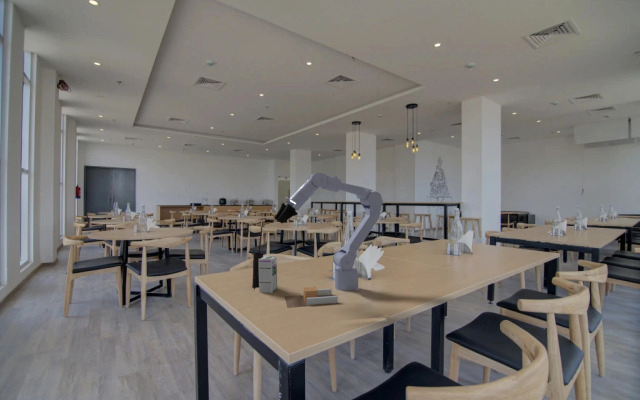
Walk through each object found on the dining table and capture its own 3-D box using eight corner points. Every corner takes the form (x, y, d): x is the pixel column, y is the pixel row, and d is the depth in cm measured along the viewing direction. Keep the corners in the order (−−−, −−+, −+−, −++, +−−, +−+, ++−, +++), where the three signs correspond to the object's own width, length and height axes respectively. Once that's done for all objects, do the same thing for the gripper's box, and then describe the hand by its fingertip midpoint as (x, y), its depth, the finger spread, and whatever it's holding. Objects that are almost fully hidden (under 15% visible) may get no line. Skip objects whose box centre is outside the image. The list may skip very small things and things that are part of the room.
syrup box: (272, 295, 117) (272, 259, 117) (258, 294, 119) (258, 258, 119) (277, 291, 123) (277, 256, 123) (264, 290, 124) (263, 255, 124)
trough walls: (331, 294, 116) (331, 288, 116) (337, 302, 106) (337, 296, 106) (303, 296, 114) (303, 290, 114) (307, 305, 104) (307, 298, 104)
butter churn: (243, 291, 124) (242, 223, 124) (246, 284, 133) (246, 222, 133) (265, 290, 124) (265, 223, 124) (267, 283, 134) (267, 221, 134)
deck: (330, 295, 117) (330, 293, 117) (338, 306, 105) (338, 303, 105) (284, 299, 113) (284, 296, 113) (287, 310, 101) (287, 307, 101)
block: (315, 297, 112) (315, 286, 112) (317, 301, 107) (317, 290, 107) (303, 298, 111) (303, 287, 111) (305, 302, 106) (305, 291, 106)
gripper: (290, 188, 125) (267, 212, 122) (299, 189, 111) (273, 215, 109) (302, 200, 127) (279, 223, 124) (311, 202, 113) (287, 228, 110)
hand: (277, 220), depth 116 cm, fingers open, 7 cm apart
